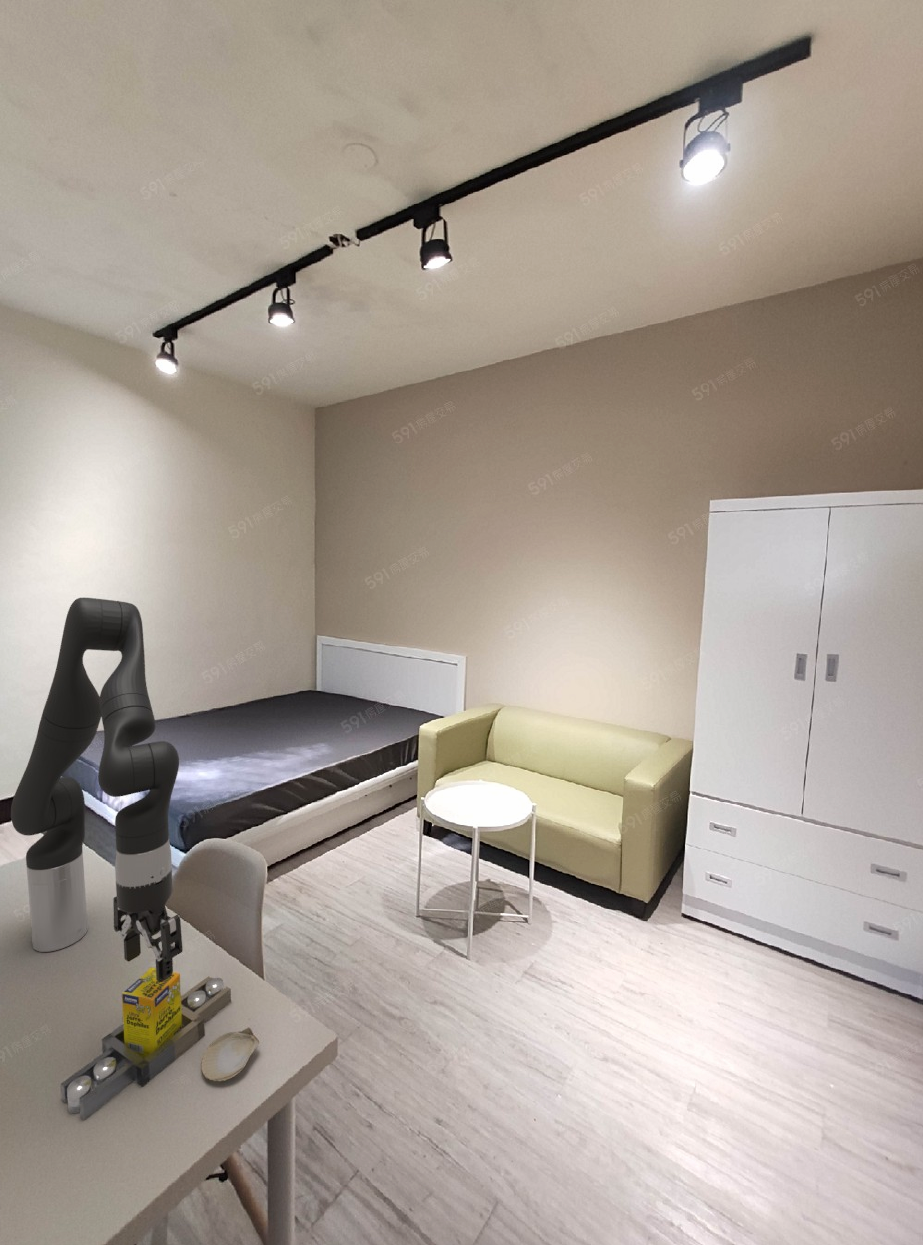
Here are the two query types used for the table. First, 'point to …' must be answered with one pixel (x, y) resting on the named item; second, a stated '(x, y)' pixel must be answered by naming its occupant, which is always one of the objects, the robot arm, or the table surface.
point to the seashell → (228, 1055)
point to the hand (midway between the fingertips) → (148, 967)
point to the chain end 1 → (112, 1073)
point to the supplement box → (151, 1012)
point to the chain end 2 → (199, 1011)
